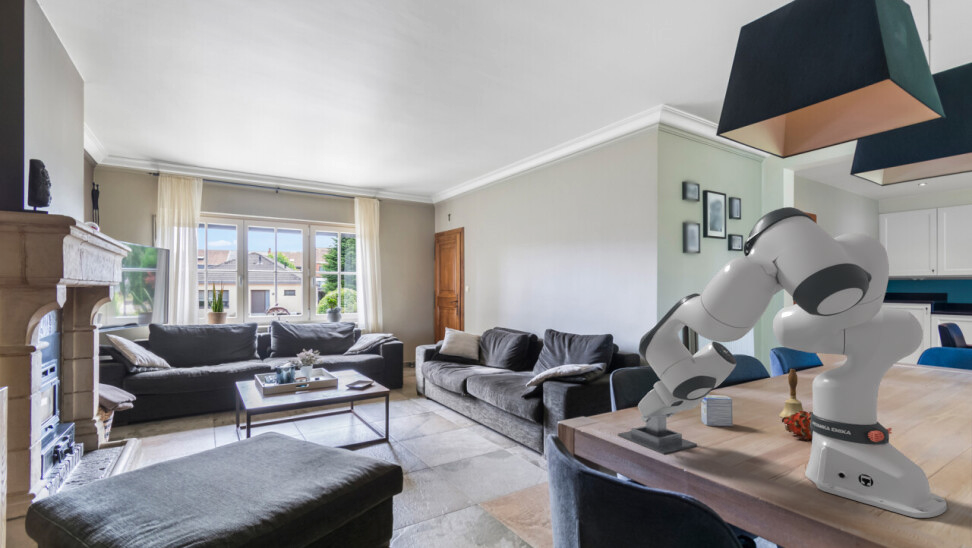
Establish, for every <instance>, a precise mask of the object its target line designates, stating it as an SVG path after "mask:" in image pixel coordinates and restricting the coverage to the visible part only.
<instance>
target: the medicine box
mask: <svg viewBox="0 0 972 548" xmlns="http://www.w3.org/2000/svg"><path fill="white" fill-rule="evenodd" d="M700 405H701V410H700V411H701V413H700V414H701V416H700V417H701V422H702V423H703V424H704V426H709V427H712V426H713V427H716V426H717V427H733V425H734V424H733V418H734V416H733V399H732V398H731V397H729V396H727V395H722V394H720V395H719V394H717V395H716V394H715V395H713V394H708V395H707V396H706V397H705V398H704V399H703V400H702V401H701V402H700Z"/></svg>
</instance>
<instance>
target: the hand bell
mask: <svg viewBox="0 0 972 548" xmlns="http://www.w3.org/2000/svg"><path fill="white" fill-rule="evenodd" d="M787 379H788V380H787V381H788V384H789V391H790V392H789V398H788V399H786V400H785V403H784V406H783V409H782V411H781V412H780V413H779V414H778V417H780V418H782V419H783V418H784V417H787V416H791V415H792V414H795V413H799V410H801V411H804V408H803V403H802V402H801V400H798V399H797V391H796V389H797V385H798V380H799V379H798V374H797V372H796V369H794V368H790V370H789V373H788V375H787Z"/></svg>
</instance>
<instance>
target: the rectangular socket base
mask: <svg viewBox="0 0 972 548" xmlns="http://www.w3.org/2000/svg"><path fill="white" fill-rule="evenodd" d="M617 436H618V437H620V438H623V439H625V440H628V441H630V442H632V443H635V444H637V445H641V446H642V447H645V448H648V449H650V450H652V451H655V452H657V453H660V454H662V455H665V454H670V453H674V452H677V451H682V450H686V449H687V450H688V449H689V448H690V449H691V448H694V447H697V446H698V443H696V442H694V441H693V442H692V441H690V440H688V439H685V438H683V434H682V433H680V432H677V431H674V430H672V429H669V428H666V436H664V437H659V438H658V437H655V436H653V435H650V434H647V433H646V425H644V426H639V427H634V428H633V427H632V428H631V429H630V431H625V432H624V431H623V432H620V433H618V434H617Z"/></svg>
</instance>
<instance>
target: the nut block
mask: <svg viewBox="0 0 972 548" xmlns="http://www.w3.org/2000/svg"><path fill="white" fill-rule="evenodd" d="M650 418H651V419H650V420H649V421H647V422H645V426H646V433H647V434H650V435H653V436H655V437H658V438H659V437H664V436H666V429H667V417H666V414H663V415H658V416H653V417H650Z"/></svg>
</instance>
